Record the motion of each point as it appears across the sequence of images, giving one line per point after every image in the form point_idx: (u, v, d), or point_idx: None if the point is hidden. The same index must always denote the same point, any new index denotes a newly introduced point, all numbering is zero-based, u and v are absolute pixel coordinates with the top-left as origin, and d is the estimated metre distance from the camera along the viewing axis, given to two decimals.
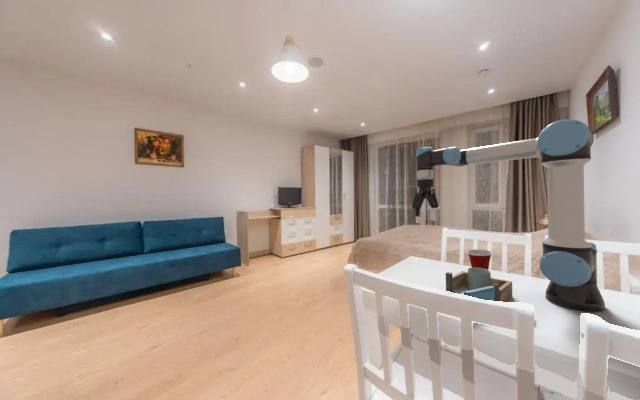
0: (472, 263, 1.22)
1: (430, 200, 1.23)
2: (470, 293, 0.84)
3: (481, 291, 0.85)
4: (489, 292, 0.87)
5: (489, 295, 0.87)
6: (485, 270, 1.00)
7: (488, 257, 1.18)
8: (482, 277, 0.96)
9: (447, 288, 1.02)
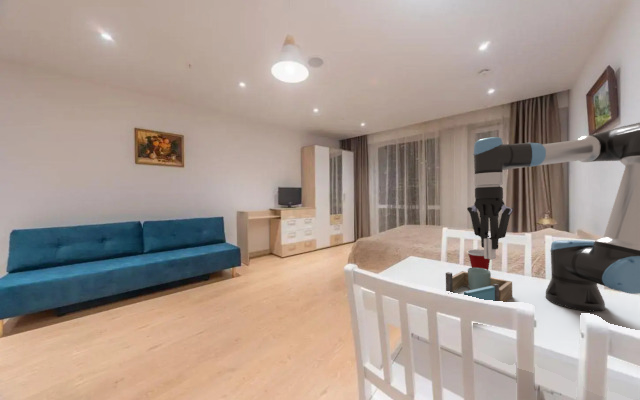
0: (472, 263, 1.22)
1: None
2: (470, 293, 0.84)
3: (481, 291, 0.85)
4: (489, 292, 0.87)
5: (489, 295, 0.87)
6: (485, 270, 1.00)
7: None
8: (482, 277, 0.96)
9: (447, 288, 1.02)
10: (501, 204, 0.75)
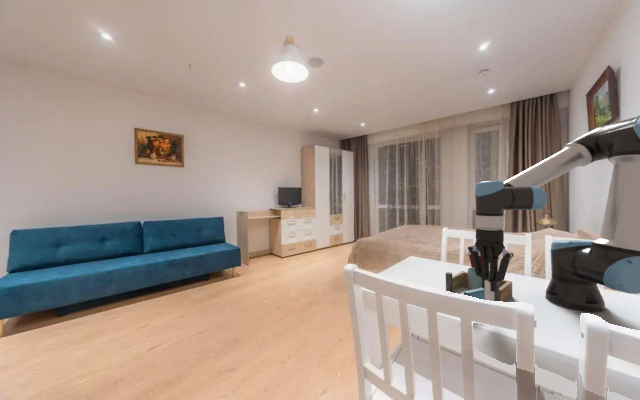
0: (472, 263, 1.22)
1: None
2: (470, 293, 0.84)
3: (481, 291, 0.85)
4: None
5: None
6: None
7: None
8: None
9: (447, 288, 1.02)
10: (501, 248, 0.75)
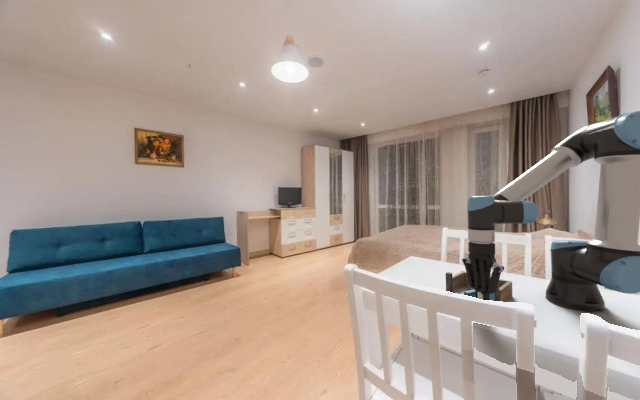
0: None
1: None
2: (470, 293, 0.84)
3: None
4: None
5: (489, 295, 0.87)
6: None
7: None
8: None
9: (447, 288, 1.02)
10: (492, 261, 0.77)
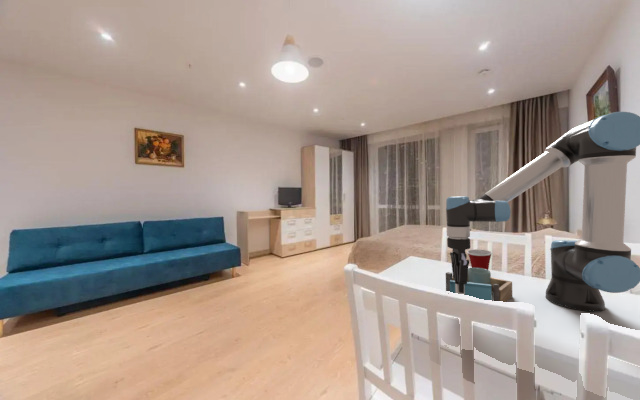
0: (472, 263, 1.22)
1: None
2: (454, 282, 0.94)
3: (469, 284, 0.92)
4: (483, 289, 0.90)
5: (482, 291, 0.90)
6: (485, 270, 1.00)
7: (488, 257, 1.18)
8: (482, 277, 0.96)
9: (447, 288, 1.02)
10: (460, 255, 0.87)
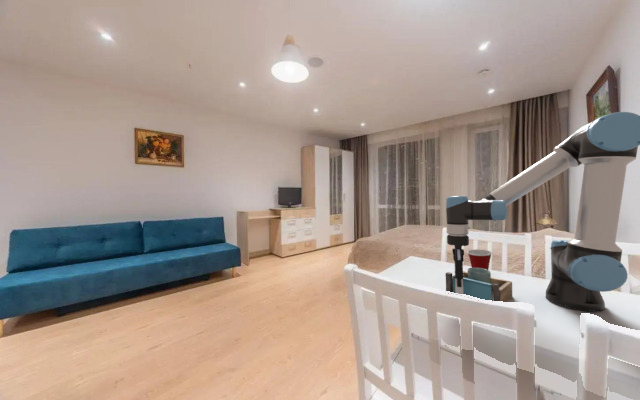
0: (472, 263, 1.22)
1: None
2: None
3: (470, 281, 0.95)
4: (483, 287, 0.92)
5: (482, 290, 0.92)
6: (485, 270, 1.00)
7: (488, 257, 1.18)
8: (482, 277, 0.96)
9: (447, 288, 1.02)
10: (456, 251, 0.93)
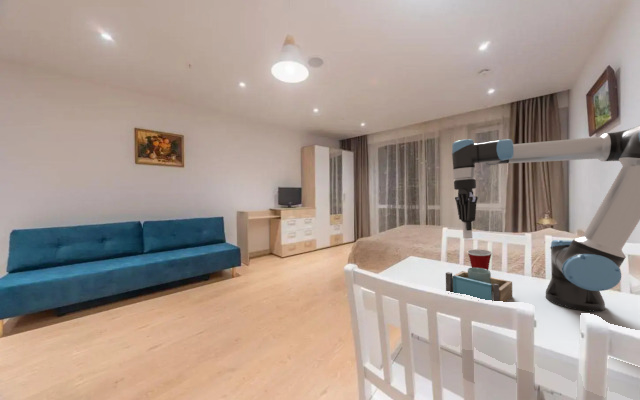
0: (472, 263, 1.22)
1: None
2: (456, 277, 0.99)
3: (470, 281, 0.95)
4: (483, 287, 0.92)
5: (482, 290, 0.92)
6: (485, 270, 1.00)
7: (488, 257, 1.18)
8: (482, 277, 0.96)
9: (447, 288, 1.02)
10: (468, 193, 0.93)
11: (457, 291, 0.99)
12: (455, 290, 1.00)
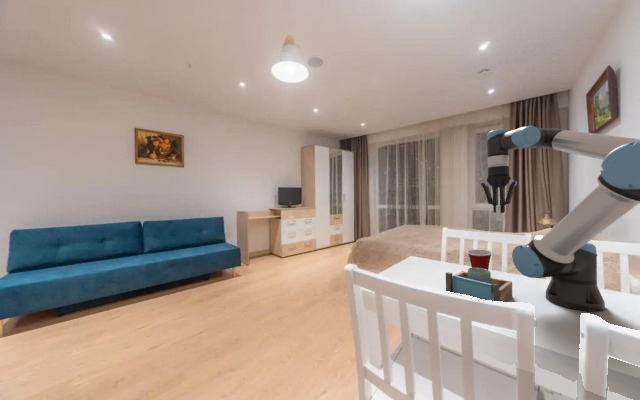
0: (472, 263, 1.22)
1: None
2: (456, 277, 0.99)
3: (470, 281, 0.95)
4: (483, 287, 0.92)
5: (482, 290, 0.92)
6: (485, 270, 1.00)
7: (488, 257, 1.18)
8: (482, 277, 0.96)
9: (447, 288, 1.02)
10: (509, 178, 1.02)
11: (457, 291, 0.99)
12: (455, 290, 1.00)
